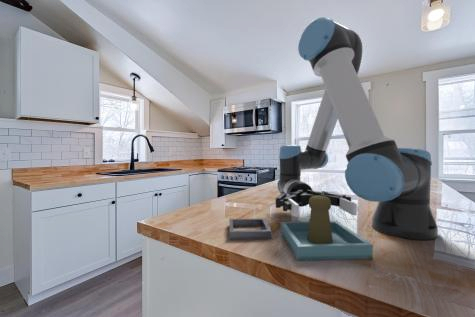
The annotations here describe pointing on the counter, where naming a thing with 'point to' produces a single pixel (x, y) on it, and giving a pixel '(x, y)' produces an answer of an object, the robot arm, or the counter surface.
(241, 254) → the counter surface
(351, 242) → the tray
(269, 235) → the grey square holder
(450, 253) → the counter surface
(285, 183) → the robot arm
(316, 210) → the olive tall rounded piece
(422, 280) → the counter surface
